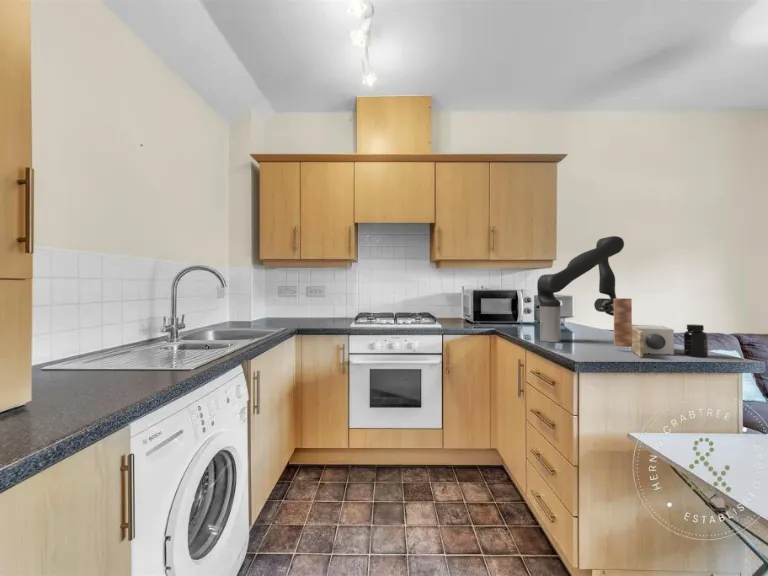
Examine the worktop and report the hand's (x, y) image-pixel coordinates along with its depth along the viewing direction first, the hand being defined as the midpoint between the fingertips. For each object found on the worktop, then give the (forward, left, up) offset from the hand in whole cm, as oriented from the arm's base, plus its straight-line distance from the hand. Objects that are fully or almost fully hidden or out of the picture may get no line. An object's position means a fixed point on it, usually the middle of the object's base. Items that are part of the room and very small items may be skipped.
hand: (619, 309), depth 148 cm
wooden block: (+1, -13, -16) cm, 21 cm away
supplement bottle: (+23, -8, -17) cm, 30 cm away
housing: (+10, -2, -17) cm, 20 cm away
